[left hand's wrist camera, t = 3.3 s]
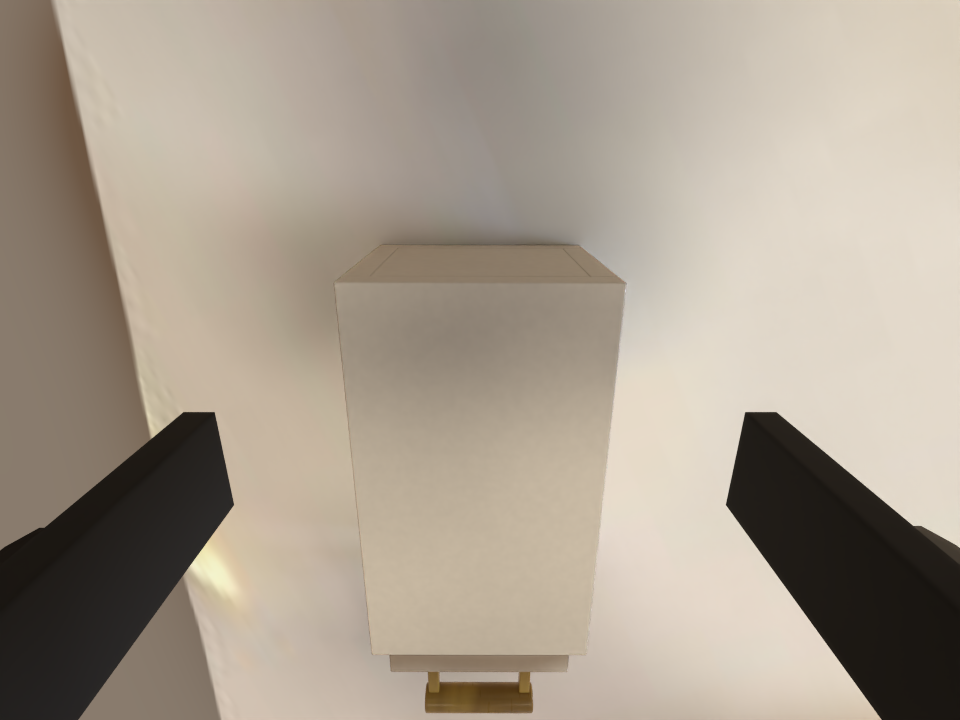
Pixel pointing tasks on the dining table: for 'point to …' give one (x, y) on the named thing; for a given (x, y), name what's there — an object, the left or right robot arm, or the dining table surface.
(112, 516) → the left robot arm
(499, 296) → the cabinet
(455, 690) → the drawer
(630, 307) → the dining table surface
